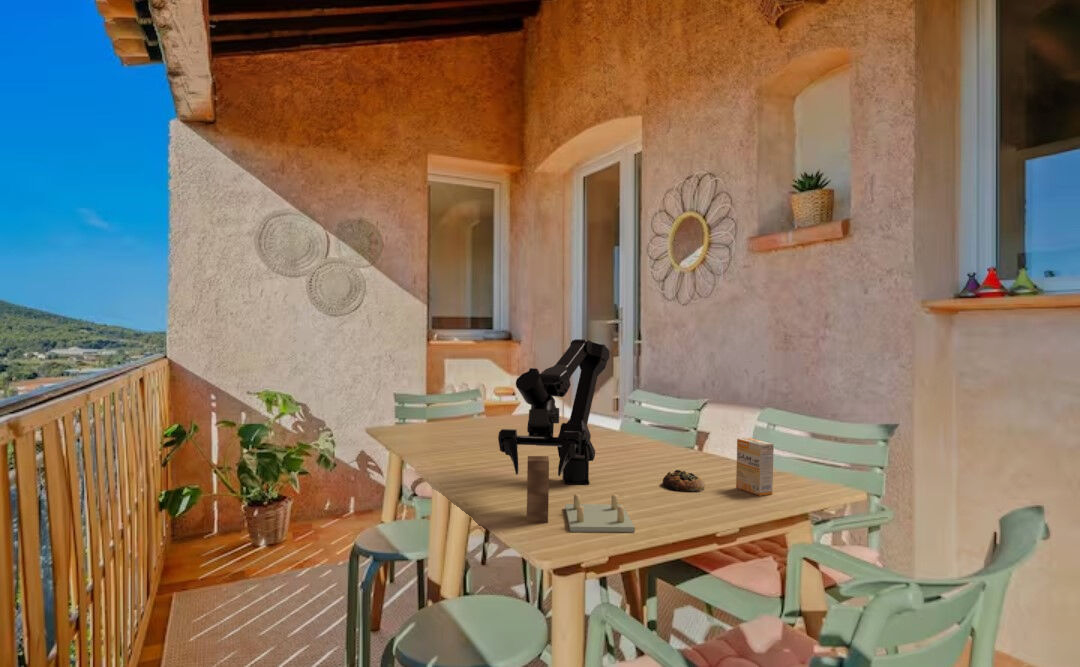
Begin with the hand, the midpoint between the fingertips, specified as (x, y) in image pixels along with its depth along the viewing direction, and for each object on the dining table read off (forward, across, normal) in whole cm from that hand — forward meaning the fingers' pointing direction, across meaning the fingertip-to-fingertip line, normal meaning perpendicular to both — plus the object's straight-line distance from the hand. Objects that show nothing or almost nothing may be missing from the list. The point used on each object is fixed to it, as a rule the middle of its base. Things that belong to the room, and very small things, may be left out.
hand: (537, 474), depth 122 cm
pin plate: (+7, +13, +6) cm, 16 cm away
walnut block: (+8, 0, +5) cm, 9 cm away
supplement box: (-12, +54, +25) cm, 61 cm away
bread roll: (-14, +37, +27) cm, 48 cm away
